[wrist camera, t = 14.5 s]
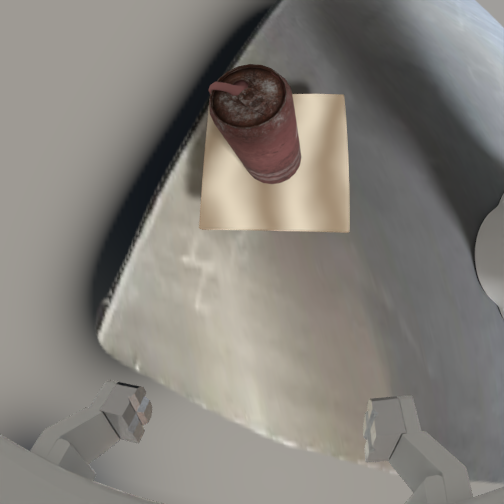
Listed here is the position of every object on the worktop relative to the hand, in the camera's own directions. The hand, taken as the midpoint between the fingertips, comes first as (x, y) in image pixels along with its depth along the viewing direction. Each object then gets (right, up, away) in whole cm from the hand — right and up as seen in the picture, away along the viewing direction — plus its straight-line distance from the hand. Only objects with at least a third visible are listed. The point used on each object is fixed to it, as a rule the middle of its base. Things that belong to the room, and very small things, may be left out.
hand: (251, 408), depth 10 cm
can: (+2, +16, +24) cm, 28 cm away
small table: (+4, +15, +31) cm, 35 cm away
